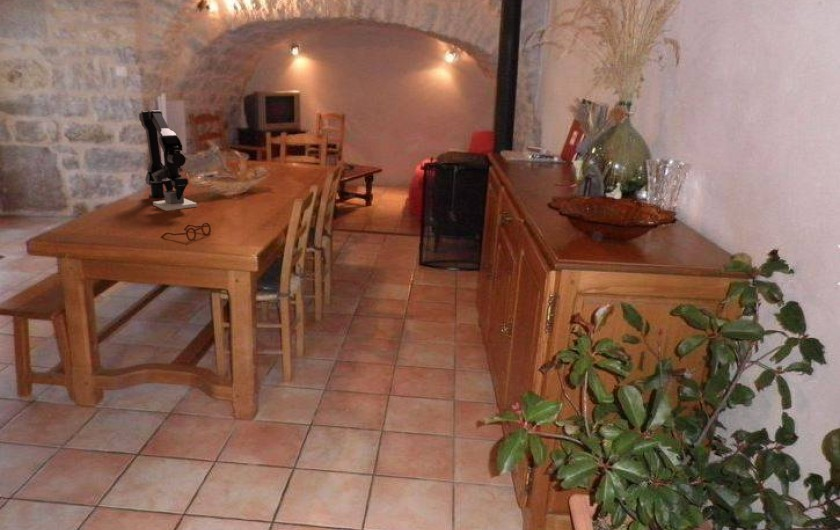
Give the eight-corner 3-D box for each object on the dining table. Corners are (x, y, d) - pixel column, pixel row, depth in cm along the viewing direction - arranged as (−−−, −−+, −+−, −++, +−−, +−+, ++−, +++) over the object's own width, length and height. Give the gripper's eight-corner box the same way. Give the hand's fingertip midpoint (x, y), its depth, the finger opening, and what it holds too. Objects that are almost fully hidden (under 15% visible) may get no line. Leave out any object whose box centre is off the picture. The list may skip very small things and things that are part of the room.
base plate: (153, 205, 285) (151, 192, 283) (183, 201, 294) (182, 189, 293) (166, 210, 276) (165, 198, 274) (197, 206, 285) (196, 194, 283)
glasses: (188, 242, 233) (187, 229, 231) (160, 238, 237) (159, 225, 236) (211, 234, 245) (211, 221, 243) (184, 230, 249) (183, 217, 247)
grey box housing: (165, 202, 285) (164, 190, 283) (178, 200, 289) (177, 189, 287) (171, 204, 281) (169, 193, 279) (184, 202, 285) (183, 191, 283)
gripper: (144, 161, 280) (147, 196, 285) (162, 167, 267) (165, 204, 272) (169, 159, 287) (172, 193, 292) (187, 165, 275) (190, 200, 280)
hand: (174, 197), depth 284 cm, fingers open, 9 cm apart
